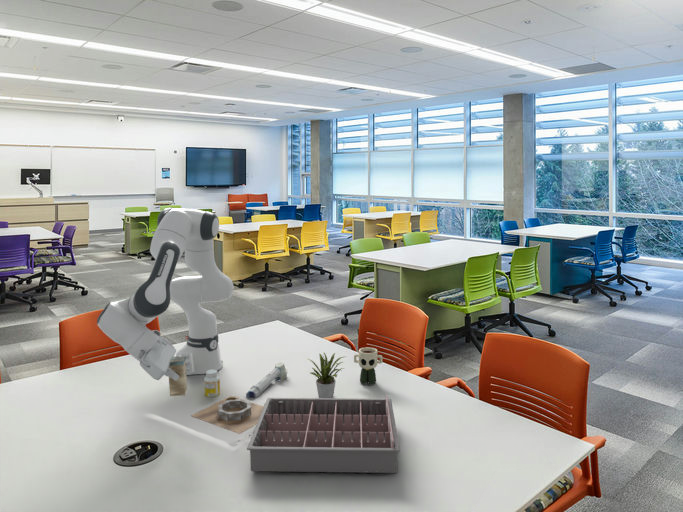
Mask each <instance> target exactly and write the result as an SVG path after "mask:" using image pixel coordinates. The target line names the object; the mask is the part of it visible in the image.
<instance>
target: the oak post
mask: <svg viewBox="0 0 683 512" xmlns="http://www.w3.org/2000/svg"><path fill="white" fill-rule="evenodd" d="M185 360H186V358H185V356H176V355H174V357H171V359H170V361H169V362H170V365H169V367H170V368H171V370H172V371H174V372H177V373H178V374H180V377H179V378H178V379H177V380H176V381H175V380H174V379H172V378H171V377H168V385H169V387H168V388H169V397H176V396H177V397H179V396H181V397H182V396H186V392H187V391H188V384H187V383H188V382H187V375H186V361H185Z"/></svg>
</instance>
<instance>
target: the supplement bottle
mask: <svg viewBox="0 0 683 512" xmlns="http://www.w3.org/2000/svg"><path fill="white" fill-rule="evenodd" d="M203 380H204V381H203V382H204V384H203V386H204V397H206V398H207V397H208V398H214V397H217V396H219V395H220V394H221V384H220V376H219V375H218V370H214V369H212V370H208V371H206V374H205V377H204V379H203Z"/></svg>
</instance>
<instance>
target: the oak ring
mask: <svg viewBox="0 0 683 512" xmlns="http://www.w3.org/2000/svg"><path fill="white" fill-rule="evenodd" d="M223 399H224V402H225V401H227V400H228V401H229V400H235V399H240V397H239V396H236V395H229V396H227V397H224V398H223Z"/></svg>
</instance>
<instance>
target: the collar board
mask: <svg viewBox="0 0 683 512" xmlns="http://www.w3.org/2000/svg"><path fill="white" fill-rule="evenodd" d="M264 406H265V405H264ZM264 406H263V405H260V404H257V403H254V402H251V401H248V400H245V399H243V398H239V399H235V400H229V401H228V400H227V401H225V402H224V398H223V399H222V400H219V401H218V402H215V403H213V404H211V405H210V406H208V407H206V408H203V409H202V410H201V409H200V411H197V412H196V413H193V414H191V415H190V417H192V418H196V419H199V420H201V421H204V422H207V423H209V424H212V425H214V426H217V427H220V428H222V429H225V430H228V431H231V432H233V433H237V434H239V435H240V434H242V433H243V432H246V431H247V430H249V429H251V428H252V427H254V426H256V425H257V423H258V420H259V418H260V415H261V413H262V410H263V408H264Z"/></svg>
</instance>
